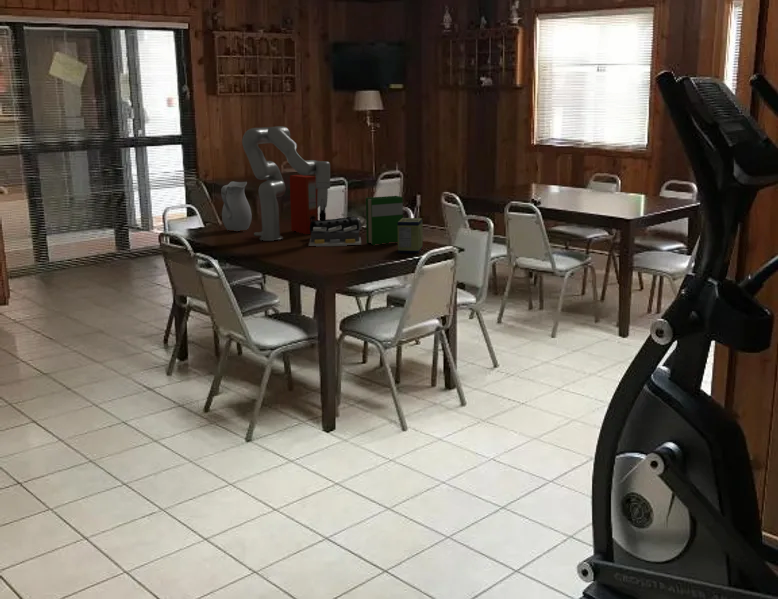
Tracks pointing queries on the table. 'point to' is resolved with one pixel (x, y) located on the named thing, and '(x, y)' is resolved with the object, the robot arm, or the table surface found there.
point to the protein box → (410, 235)
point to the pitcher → (235, 207)
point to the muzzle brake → (337, 223)
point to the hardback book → (383, 219)
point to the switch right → (350, 228)
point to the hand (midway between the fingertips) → (322, 220)
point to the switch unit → (334, 238)
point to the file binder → (303, 202)
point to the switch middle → (334, 228)
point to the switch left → (319, 228)
